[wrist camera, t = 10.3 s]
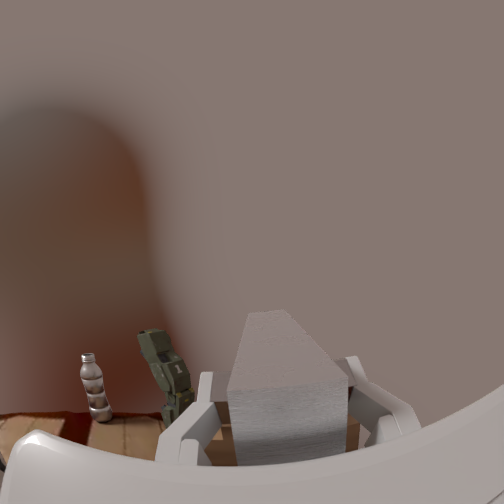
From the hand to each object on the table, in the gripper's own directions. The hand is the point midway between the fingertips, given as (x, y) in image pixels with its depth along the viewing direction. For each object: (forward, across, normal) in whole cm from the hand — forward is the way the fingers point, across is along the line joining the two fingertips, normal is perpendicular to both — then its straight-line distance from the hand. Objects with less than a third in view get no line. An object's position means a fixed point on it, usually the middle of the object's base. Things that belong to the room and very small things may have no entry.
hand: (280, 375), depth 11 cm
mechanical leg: (+18, -20, -49) cm, 56 cm away
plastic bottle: (+26, -47, -53) cm, 75 cm away
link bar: (+4, 0, -4) cm, 6 cm away
